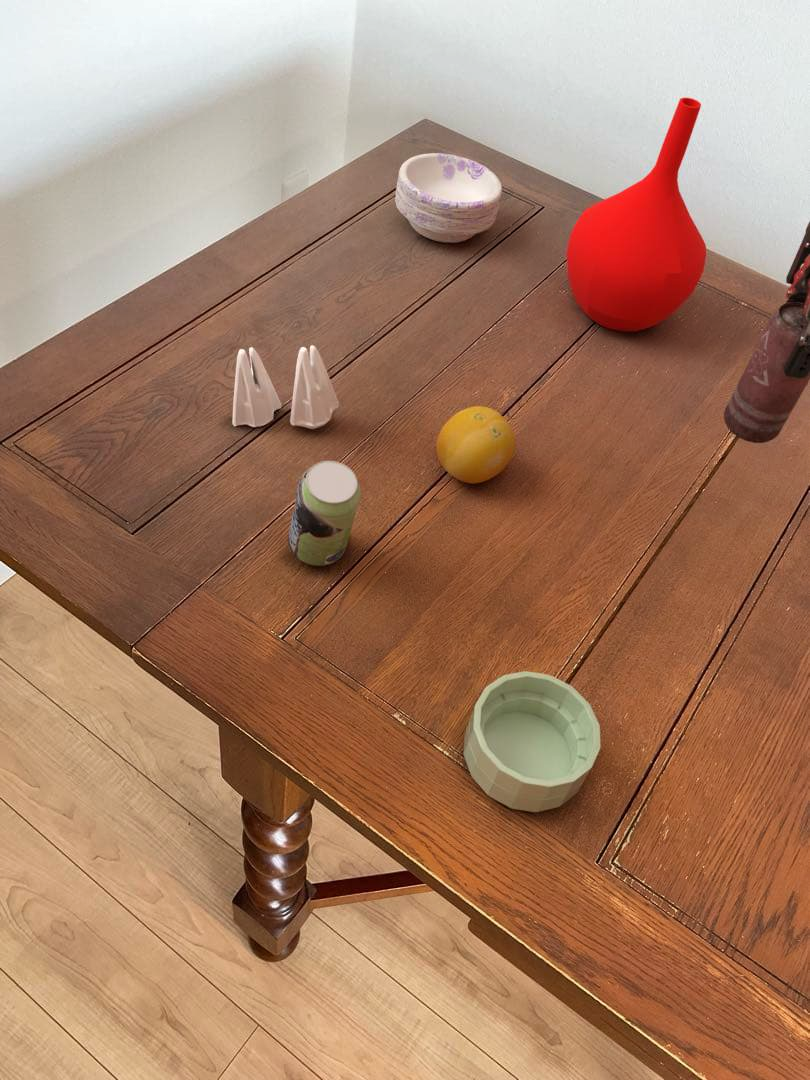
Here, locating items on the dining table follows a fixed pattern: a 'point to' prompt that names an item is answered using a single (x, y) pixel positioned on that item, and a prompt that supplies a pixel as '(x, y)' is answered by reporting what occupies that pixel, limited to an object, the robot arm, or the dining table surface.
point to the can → (768, 380)
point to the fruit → (475, 444)
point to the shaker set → (259, 403)
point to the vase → (640, 243)
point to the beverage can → (323, 513)
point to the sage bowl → (531, 741)
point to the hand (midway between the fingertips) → (788, 353)
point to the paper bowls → (447, 196)
